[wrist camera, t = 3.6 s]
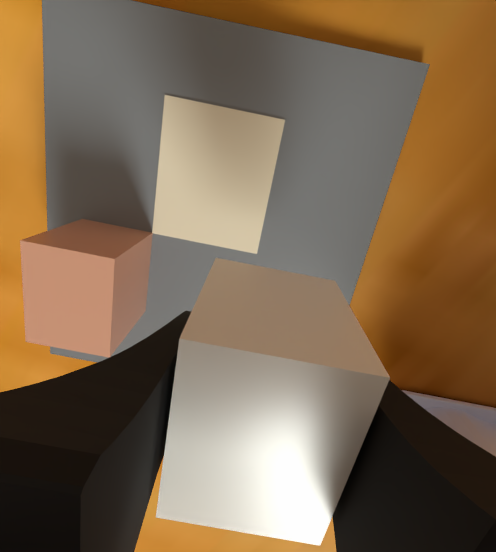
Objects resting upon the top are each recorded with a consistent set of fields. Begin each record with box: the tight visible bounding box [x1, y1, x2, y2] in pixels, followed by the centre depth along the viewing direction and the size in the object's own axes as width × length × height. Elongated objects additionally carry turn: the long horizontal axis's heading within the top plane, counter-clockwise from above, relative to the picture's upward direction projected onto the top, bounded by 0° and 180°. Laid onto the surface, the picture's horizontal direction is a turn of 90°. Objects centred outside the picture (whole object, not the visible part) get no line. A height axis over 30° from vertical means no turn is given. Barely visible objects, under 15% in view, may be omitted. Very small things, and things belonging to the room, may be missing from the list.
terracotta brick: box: [20, 219, 153, 357], centre depth 17 cm, size 4×5×5 cm
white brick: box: [156, 258, 390, 545], centre depth 9 cm, size 4×5×5 cm
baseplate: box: [42, 0, 430, 362], centre depth 19 cm, size 18×20×1 cm
